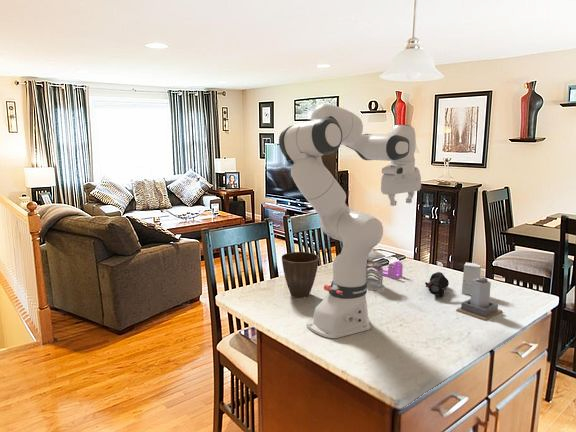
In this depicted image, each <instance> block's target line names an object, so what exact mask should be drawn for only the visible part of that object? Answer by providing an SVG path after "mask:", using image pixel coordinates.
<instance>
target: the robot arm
mask: <svg viewBox="0 0 576 432" xmlns="http://www.w3.org/2000/svg"><path fill="white" fill-rule="evenodd" d="M363 125H364V124H363V121H362V119H361V118H360V117H359V116H358V115H357V114H356V113H354V112H352V111H350V110H348V109H345V108H343V107H340V106H336V105H333V104H327V103H324V104H320V105H318V106H317V107H315V108H314V109H313V111H312V113H311V116H310V120H309V121H303V122H300V123H297V124H294V125H290V126H288V127H286V128H285V129H283V130H282V131H281V132H280V134H279V138H278V145H279V148H280V151H281V153H282V155H283V156H284V158H285V160H286V162H288V163H289V164H290V165H292V166H291V169H290V174H291V178H292V180H293V182H294V184H295V186H296V187H297V188H298V190H299V192H300V193H301V194H302V196H303V197H304V198H305V200H307V202H308V203H309V205H310V206H311V207H312V208H313V210H314V211H315V212H316V213H317V216H319V219H320V221H319V226H320V229H321V231H322V232H323V233H324V234H325V235H327V236H329V238H331V239H334V240H337V241H340V242H342V248H341V252H340V253H339V254H338V255H336V256H335V257H334V259H333V261H332V262H333V264H332V266H333V267H332V268H333V269H332V273H333V274H332V280H331V283H330V285H329V284H327V283H325V284H324V286H323V290H324V291H326V292H328V294H327V295H326V296H325V297H324V298H322V301H321V302H320V303H319V304H318V305H317V306H315V308H314V310H313V311H314V313H313V318H312V319H310V320H308V321H307V322H306V327H307V329H309V330H310V331H312V332H313V333H315V334H317V335H318V336H319V335H320V337H325V338H328V339H338V338H342V337H345V336H350V335H355V334H358V333H363V332H366V331H369V330H371V324H370V319H369V314H368V313H369V312H368V310H369V309H368V304H367V298H366V296H367V293H368V289H367V283H366V264H367V263H368V259H369V258H368V256H369V253H370V252H371V251H372V250H373V249H374V248H375V247H376V246H377V245H378V244H380V241H382V238H383V235H384V226H383V223H382V221H380V220H379V219H378V218H376V217H375V216H373V215H370V214H369V213H366V212H362V211H357V210H354V209H352V208H350V207H349V206H348V205H347V203H346V200H347V194H346V192H345V191H344V189H343V187H342V186H341V185H340V183H339V182H338V181H337V180H336V178H335V177H334V176H333V174H332V173H331V171H329V170H328V168H327V167H326V166H325V165H324V163H323V159H322V156H324V155H325V156H327V155H330V154H333V153H335V152H337V151H338V150H339V148H340V147H341V145H342V146H345V147H346V148H348V149H350V150H353V151H354V152H355V153H356V154H357V155H358V156H359V158H361V159H362V160H364V161H389V162H390V163H389V164H387V165H386V166H384V167H382V168H381V174H383V175H382V176H381V180H380V191H381V193H382V194H383V195H387V198H388V200H389V201H390V202H389V203H390V206H392V207H393V206H397V201H396V198H395V197H396V195H398V194H405V193H407V194H408V195H407V197H406V198H405V203H406V204H412V203H413V202H412V201H413V198H414V196H415V192H420V190H421V188H422V178H421V177H422V176H421V172H420V169H419V168H418V167H417V166H416V163H415V162H416V159H415V151H416V145H417V143H416V140H417V139H416V132H415V128H414V127H413V126H412V125H408V124H396V125H394V126H393V129H392V130H391V131H390V132H388V133H386V134H385V133H381V134H380V133H379V134H378V133H377V134H376V133H374V134H373V133H363V131H364V130H363V129H364V126H363Z"/></svg>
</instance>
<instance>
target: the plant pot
mask: <svg viewBox="0 0 576 432" xmlns="http://www.w3.org/2000/svg"><path fill="white" fill-rule="evenodd" d="M319 259H320V257H319V255H318V254H315V253H312V252H308V251H294V252H287V253H285V254H282V255H281V263H282V269H283V273H284V274H283V275H284V278H285V282H286V286H287V288H288V290H289V293H290V297H293V298H297V299H305V298H308V297H309V296H310V294H311V291H312V288H313V286H314V283H315V279H316V277H317V276H316V275H317V271H318V266H319ZM304 297H305V298H304Z"/></svg>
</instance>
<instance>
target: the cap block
mask: <svg viewBox="0 0 576 432" xmlns="http://www.w3.org/2000/svg"><path fill="white" fill-rule="evenodd" d="M491 284H492V282H491V281H488V278H486V277H482V276H480V277H476V278H475V279H474V280H472V287H471V295H470V299H471V301H470V304H471V305H474V306H477V307H480V308H483V309H484V308H486V307H489V301H490V297H491Z"/></svg>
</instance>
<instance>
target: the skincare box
mask: <svg viewBox="0 0 576 432" xmlns="http://www.w3.org/2000/svg"><path fill="white" fill-rule="evenodd" d="M481 270H482V264H479V263H474V262H465V264H464V265H463V277H462V285H461V287H462V288H461V294H464V295H465V294H466V295H470V296H471V287H472V280H474V279H475V278H476V277H481V272H482V271H481Z"/></svg>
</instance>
